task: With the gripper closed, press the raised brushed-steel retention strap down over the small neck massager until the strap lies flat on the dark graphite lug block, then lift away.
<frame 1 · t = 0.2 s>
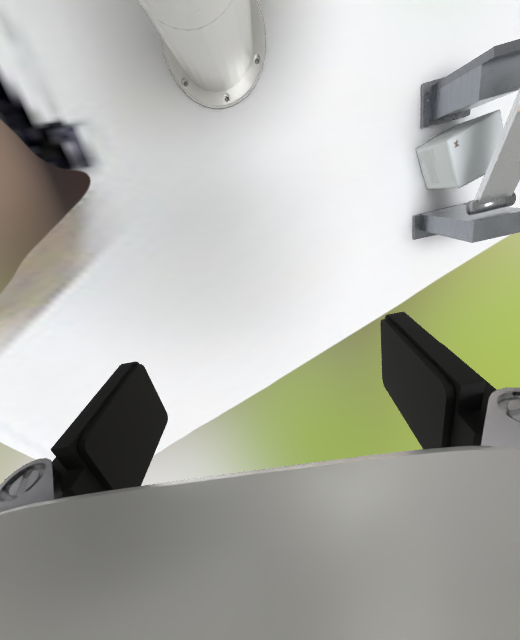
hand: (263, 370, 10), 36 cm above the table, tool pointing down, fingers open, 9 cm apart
hinge post: (439, 217, 42), on the table
lug block: (444, 104, 36), on the table
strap: (516, 147, 27), point 13 cm above the table, hinge at 25.0°
product box: (440, 158, 39), on the table
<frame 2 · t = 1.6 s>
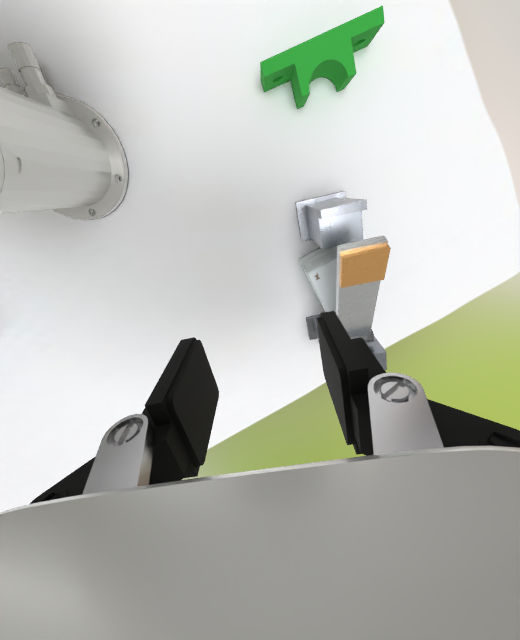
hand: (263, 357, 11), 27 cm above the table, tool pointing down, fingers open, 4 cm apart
pipe clamp: (314, 78, 29), on the table
hinge post: (333, 319, 41), on the table
lug block: (322, 220, 35), on the table
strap: (355, 303, 26), point 13 cm above the table, hinge at 25.0°
product box: (327, 266, 38), on the table
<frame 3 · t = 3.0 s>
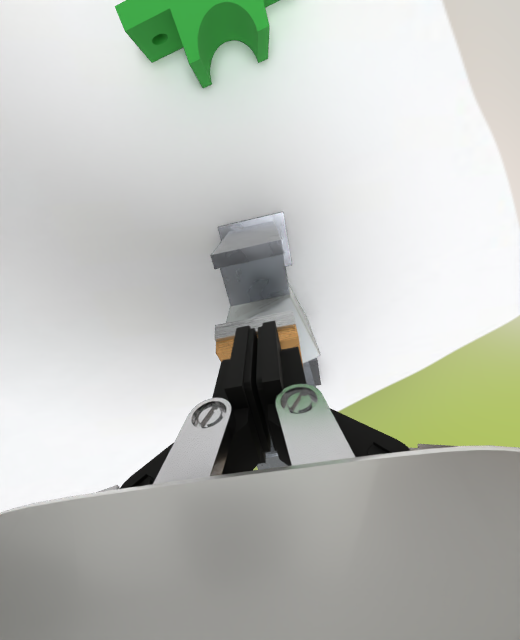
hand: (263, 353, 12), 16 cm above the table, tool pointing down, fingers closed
pipe clamp: (224, 42, 20), on the table
hinge post: (283, 371, 32), on the table
lug block: (257, 249, 26), on the table
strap: (277, 391, 17), point 13 cm above the table, hinge at 24.6°, touching gripper
product box: (270, 307, 29), on the table
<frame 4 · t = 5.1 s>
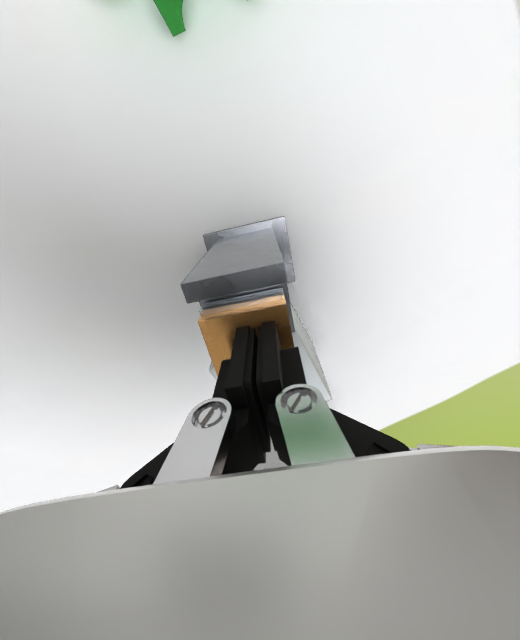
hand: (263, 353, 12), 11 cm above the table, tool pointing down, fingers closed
lug block: (252, 262, 21), on the table
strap: (272, 417, 14), point 10 cm above the table, hinge at 0.6°, touching gripper
product box: (268, 330, 24), on the table
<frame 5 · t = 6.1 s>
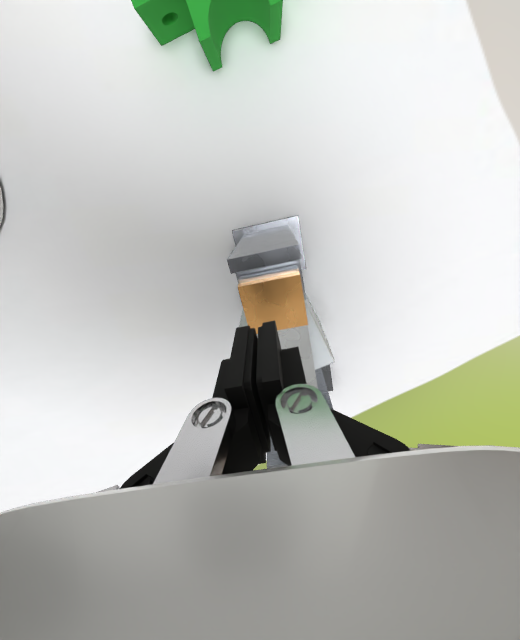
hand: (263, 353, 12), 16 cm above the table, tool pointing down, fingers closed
pipe clamp: (235, 23, 19), on the table
hinge post: (295, 376, 31), on the table
lug block: (270, 253, 25), on the table
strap: (287, 367, 19), point 10 cm above the table, hinge at 0.6°
product box: (282, 311, 28), on the table
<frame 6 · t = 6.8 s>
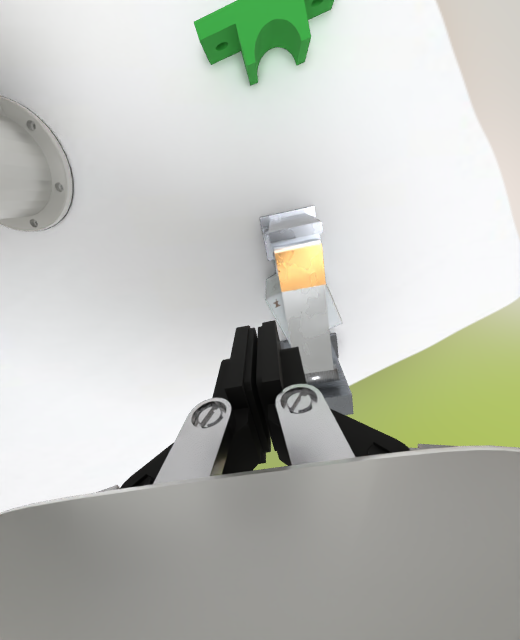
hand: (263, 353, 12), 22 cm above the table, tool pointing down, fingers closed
pipe clamp: (269, 49, 24), on the table
hinge post: (306, 345, 37), on the table
lug block: (290, 237, 31), on the table
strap: (307, 321, 24), point 10 cm above the table, hinge at 0.6°
product box: (297, 288, 34), on the table
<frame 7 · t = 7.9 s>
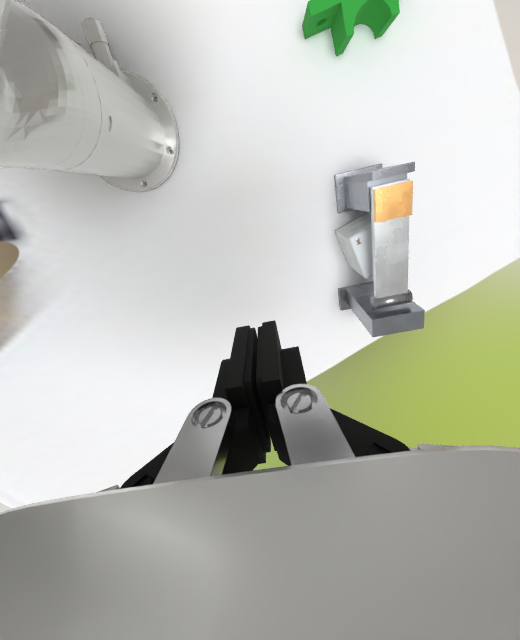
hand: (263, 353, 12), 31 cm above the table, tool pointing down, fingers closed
pipe clamp: (353, 25, 30), on the table
hinge post: (363, 290, 43), on the table
lug block: (358, 192, 37), on the table
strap: (390, 250, 30), point 10 cm above the table, hinge at 0.6°
product box: (360, 238, 40), on the table
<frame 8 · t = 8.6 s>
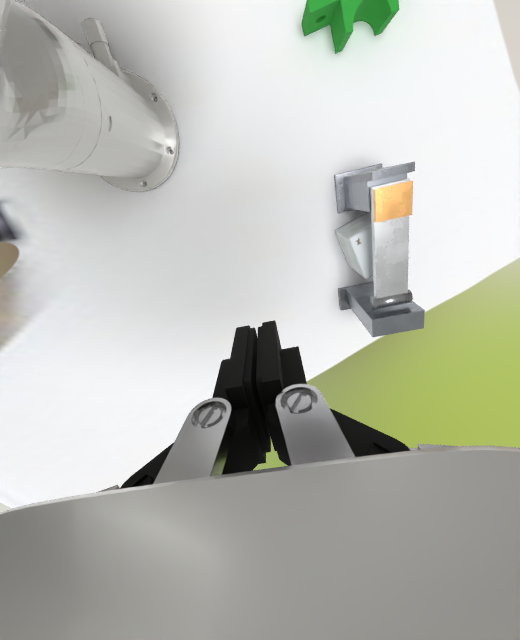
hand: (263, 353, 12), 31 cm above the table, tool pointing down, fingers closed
pipe clamp: (353, 22, 30), on the table
hinge post: (363, 290, 43), on the table
lug block: (358, 192, 37), on the table
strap: (390, 250, 30), point 10 cm above the table, hinge at 0.6°
product box: (360, 238, 40), on the table
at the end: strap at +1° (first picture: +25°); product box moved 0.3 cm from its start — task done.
